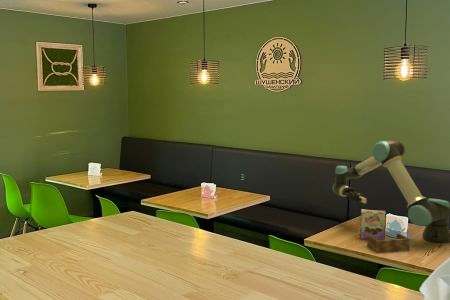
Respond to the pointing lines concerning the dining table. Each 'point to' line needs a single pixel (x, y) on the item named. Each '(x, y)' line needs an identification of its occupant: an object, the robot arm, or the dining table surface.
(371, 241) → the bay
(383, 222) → the candy box
